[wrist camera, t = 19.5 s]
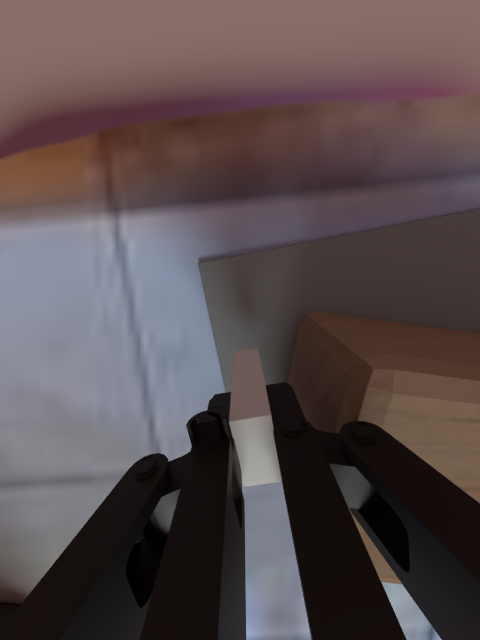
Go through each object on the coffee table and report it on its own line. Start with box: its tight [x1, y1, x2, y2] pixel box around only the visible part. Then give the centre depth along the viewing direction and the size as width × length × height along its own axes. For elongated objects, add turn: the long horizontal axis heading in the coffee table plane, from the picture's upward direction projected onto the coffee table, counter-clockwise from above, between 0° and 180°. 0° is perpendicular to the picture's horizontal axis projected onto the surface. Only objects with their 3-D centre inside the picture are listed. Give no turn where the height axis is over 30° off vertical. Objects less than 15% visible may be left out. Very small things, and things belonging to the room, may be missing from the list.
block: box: [287, 311, 480, 584], centre depth 14 cm, size 10×10×20 cm
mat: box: [198, 209, 480, 393], centre depth 18 cm, size 24×14×1 cm, turn 101°
